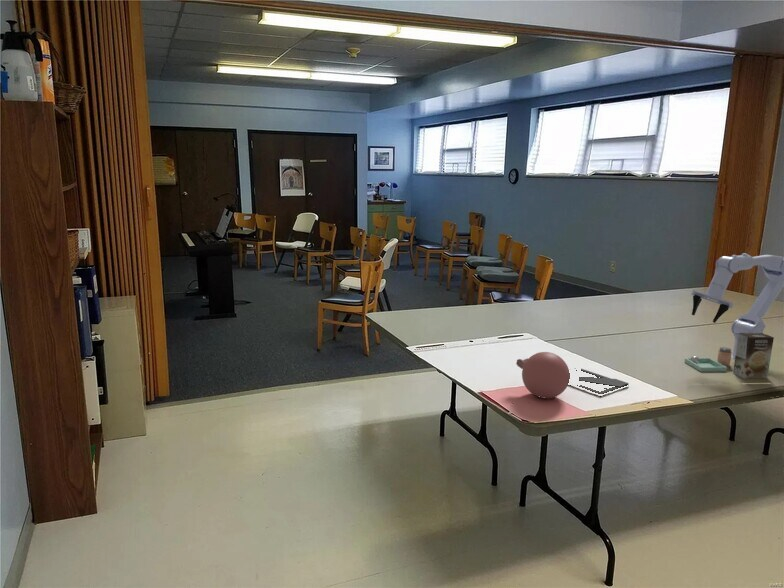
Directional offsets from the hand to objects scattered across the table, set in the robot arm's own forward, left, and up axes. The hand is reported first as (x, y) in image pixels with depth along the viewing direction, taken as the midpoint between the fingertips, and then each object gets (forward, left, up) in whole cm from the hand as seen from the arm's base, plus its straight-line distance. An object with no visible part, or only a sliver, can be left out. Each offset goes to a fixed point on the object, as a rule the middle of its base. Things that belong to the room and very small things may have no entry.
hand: (703, 318), depth 211 cm
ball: (+1, 0, -18) cm, 18 cm away
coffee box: (-12, +13, -19) cm, 26 cm away
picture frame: (+50, +17, -20) cm, 56 cm away
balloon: (+71, +27, -19) cm, 78 cm away
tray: (-1, +3, -19) cm, 19 cm away
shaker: (-10, +1, -19) cm, 21 cm away
